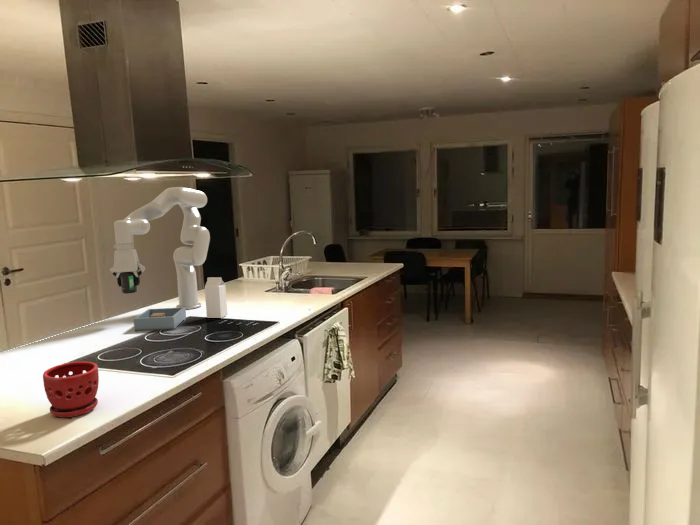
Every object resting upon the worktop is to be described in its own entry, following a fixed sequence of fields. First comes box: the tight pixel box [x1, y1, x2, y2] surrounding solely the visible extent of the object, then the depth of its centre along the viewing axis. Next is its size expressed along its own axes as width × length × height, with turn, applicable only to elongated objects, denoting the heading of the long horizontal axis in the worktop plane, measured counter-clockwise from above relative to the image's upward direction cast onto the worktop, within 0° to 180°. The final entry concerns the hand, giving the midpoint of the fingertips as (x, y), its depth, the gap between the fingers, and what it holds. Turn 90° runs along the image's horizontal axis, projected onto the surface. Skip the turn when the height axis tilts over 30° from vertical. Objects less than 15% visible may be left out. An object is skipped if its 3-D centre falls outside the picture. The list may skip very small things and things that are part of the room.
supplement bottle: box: [120, 272, 138, 294], centre depth 248 cm, size 7×7×12 cm
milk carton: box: [204, 276, 228, 319], centre depth 252 cm, size 7×7×19 cm
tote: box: [133, 307, 187, 332], centre depth 242 cm, size 20×17×6 cm
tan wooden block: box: [150, 313, 165, 318], centre depth 238 cm, size 5×5×5 cm
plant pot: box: [42, 361, 100, 418], centre depth 144 cm, size 13×13×12 cm
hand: (129, 285), depth 248 cm, fingers closed on supplement bottle, 6 cm apart
